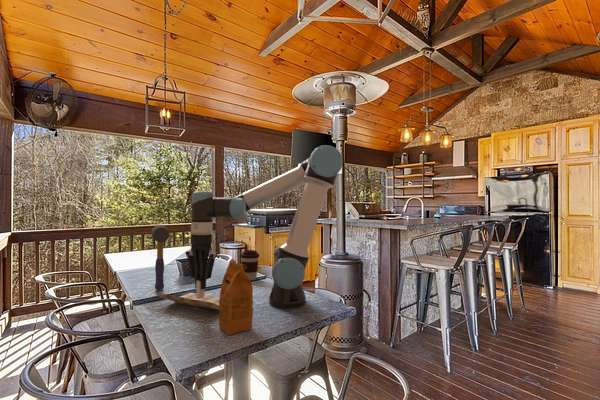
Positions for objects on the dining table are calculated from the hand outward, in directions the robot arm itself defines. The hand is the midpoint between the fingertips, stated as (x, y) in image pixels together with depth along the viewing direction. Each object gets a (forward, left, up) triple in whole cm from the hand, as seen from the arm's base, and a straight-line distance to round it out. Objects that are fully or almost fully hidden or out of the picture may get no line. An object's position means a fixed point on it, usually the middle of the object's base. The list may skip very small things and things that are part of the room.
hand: (200, 297), depth 114 cm
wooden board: (+6, -11, -6) cm, 14 cm away
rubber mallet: (+38, -16, -7) cm, 42 cm away
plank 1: (+13, -2, -4) cm, 14 cm away
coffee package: (-18, +4, -7) cm, 20 cm away
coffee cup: (+12, -52, -7) cm, 54 cm away
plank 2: (0, -2, -4) cm, 4 cm away
